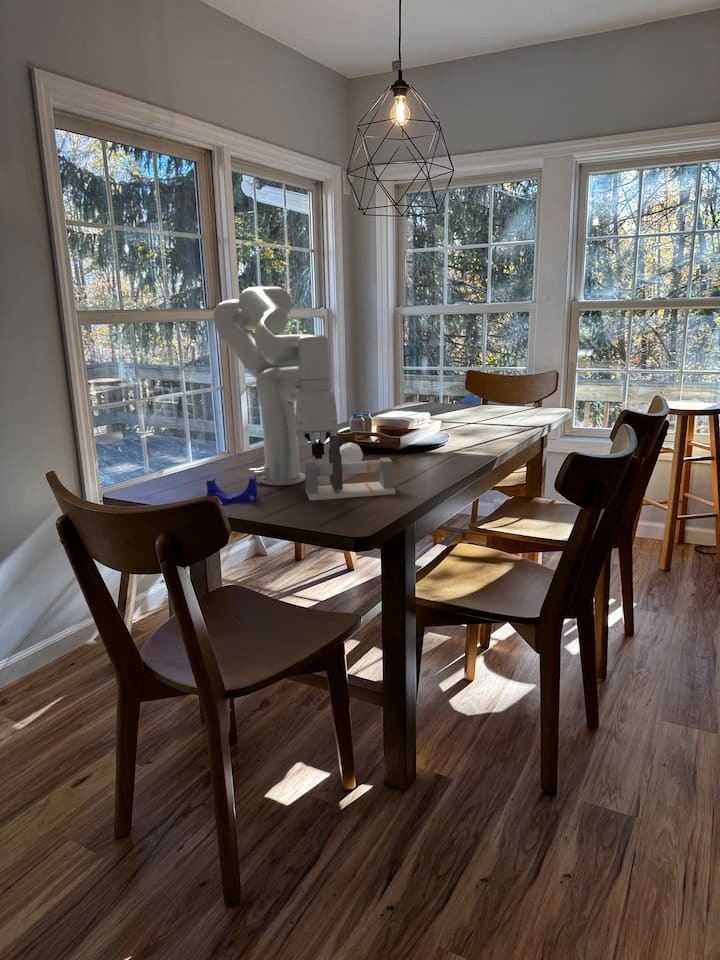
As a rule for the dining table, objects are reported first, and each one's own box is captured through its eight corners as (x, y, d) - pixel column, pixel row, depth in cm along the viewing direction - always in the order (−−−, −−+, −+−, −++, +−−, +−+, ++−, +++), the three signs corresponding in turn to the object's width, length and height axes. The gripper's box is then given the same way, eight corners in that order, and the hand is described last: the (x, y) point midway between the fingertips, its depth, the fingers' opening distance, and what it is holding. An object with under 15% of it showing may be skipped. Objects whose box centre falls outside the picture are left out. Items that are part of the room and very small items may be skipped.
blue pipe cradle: (207, 505, 167) (205, 482, 166) (210, 500, 171) (208, 478, 170) (255, 503, 167) (254, 480, 166) (257, 498, 172) (256, 476, 170)
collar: (334, 490, 169) (332, 439, 166) (330, 482, 178) (327, 433, 175) (342, 489, 169) (340, 439, 166) (337, 481, 178) (335, 433, 175)
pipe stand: (309, 500, 168) (308, 469, 166) (305, 490, 178) (304, 460, 176) (395, 493, 172) (394, 463, 170) (386, 484, 181) (386, 455, 179)
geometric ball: (354, 474, 206) (367, 452, 206) (353, 471, 198) (367, 448, 198) (333, 462, 206) (346, 440, 207) (331, 458, 198) (345, 435, 199)
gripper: (285, 388, 162) (290, 463, 166) (346, 385, 164) (349, 459, 168) (283, 386, 169) (288, 457, 173) (342, 383, 171) (345, 453, 176)
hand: (318, 458), depth 171 cm, fingers closed
